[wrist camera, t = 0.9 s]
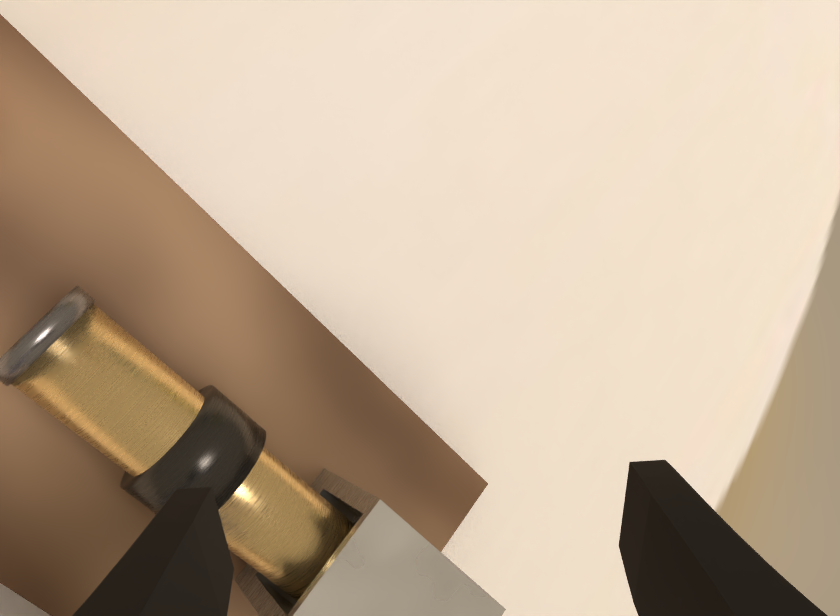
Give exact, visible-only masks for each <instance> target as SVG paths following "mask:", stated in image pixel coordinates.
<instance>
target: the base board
mask: <svg viewBox="0 0 840 616" xmlns="http://www.w3.org/2000/svg"><path fill="white" fill-rule="evenodd" d="M77 285H78V286H79V287H81V288H82V289H83V290H84V291H85V292H86V293H88V294H89V295H90V296H91V297H92V298H94V299H95V300H96V301H95V302H94V303H93V304H95V305H96V306H97V307H98V308H99V309H101V310H102V311H103V312H104V313H105V314H106V315H108V316H109V317H110V318H111V319H112V320H114V321H115V322H116V323H117V324H118V325H120V326H121V327H122V328H123V329H124V330H125V331H127V332H128V333H129V334H130V335H131V336H133V337H134V338H135V339H136V340H137V341H138V342H140V343H141V344H142V345H143V346H144V347H146V348H147V349H148V350H149V351H150V352H152V353H153V354H154V355H155V356H156V357H157V358H159V359H160V360H161V361H162V362H163V363H165V364H166V365H167V366H168V367H169V368H170V369H172V370H173V371H174V372H175V373H176V374H178V375H179V376H180V377H181V378H182V379H184V380H185V381H186V382H187V383H188V384H189V385H191V386H192V387H193V388H194V389H195V390H197V391H199V390H200V389H202V388H204V387H206V386H208V385H213V386H214V387H215V388H217V389H218V390H219V391H220V392H221V393H222V394H224V395H225V396H226V397H227V398H228V399H229V400H231V401H232V402H233V403H234V404H235V405H236V406H238V407H239V408H240V409H241V410H242V411H243V412H245V413H246V414H247V415H248V416H249V417H250V418H252V419H253V420H254V421H255V422H256V423H257V424H259V425H260V426H261V427H262V428H263V429H264V430H265V431H266V441H265V445H264V448H265V449H266V450H268V451H269V452H270V453H271V454H272V455H274V456H275V457H276V458H277V459H278V460H279V461H281V462H282V463H283V464H284V465H285V466H287V467H288V468H289V469H290V470H291V471H293V472H294V473H295V474H296V475H297V476H298V477H300V478H301V479H302V480H303V481H304V482H306V483H307V484H308V485H309V486H310V484H311V483H312V482H313V481H314V479H315V478H316V477H317V476H318V474H319V473H320V472H321V471H322V469H323V468H325V469H327V470H328V471H330V472H332V473H334V474H336V475H337V476H339V477H341V478H343V479H345V480H346V481H348V482H350V483H352V484H354V485H355V486H357V487H359V488H361V489H363V490H364V491H366V492H368V493H370V494H372V495H374V496H375V497H377V498H379V499H381V500H382V501H383V502H384V503H385V504H386V505H387V506H389V507H390V508H391V509H392V510H393V511H394V512H395V513H397V514H398V515H399V516H400V517H401V518H402V519H403V520H404V521H406V522H407V523H408V524H409V525H410V526H411V527H412V528H414V529H415V530H416V531H417V532H418V533H419V534H420V535H422V536H423V537H424V538H425V539H426V540H427V541H428V542H430V543H431V544H432V545H433V546H434V547H435V548H436V549H438V550H439V551H440V552H441V551H442V550H443V548H444V547H445V545H446V544H447V542H448V541H449V539H450V538H451V537H452V535H453V534H454V532H455V531H456V529H457V528H458V526H459V525H460V524H461V522H462V521H463V519H464V518H465V516H466V515H467V513H468V512H469V511H470V509H471V508H472V506H473V505H474V503H475V502H476V501H477V499H478V498H479V496H480V495H481V493H482V492H483V490H484V489H485V488H486V486H487V485H488V483H487V482H486V481H485V480H484V479H483V478H482V477H481V476H479V475H478V474H477V473H476V472H475V471H474V470H473V469H472V468H471V467H470V466H469V465H468V464H467V463H466V462H465V461H464V460H463V459H462V458H461V457H460V456H459V455H458V454H457V453H456V452H455V451H454V450H452V449H451V448H450V447H449V446H448V445H447V444H446V443H445V442H444V441H443V440H442V439H441V438H440V437H439V436H438V435H437V434H436V433H435V432H434V431H433V430H432V429H431V428H430V427H429V426H428V425H427V424H425V423H424V422H423V421H422V420H421V419H420V418H419V417H418V416H417V415H416V414H415V413H414V412H413V411H412V410H411V409H410V408H409V407H408V406H407V405H406V404H405V403H404V402H403V401H402V400H401V399H399V398H398V397H397V396H396V395H395V394H394V393H393V392H392V391H391V390H390V389H389V388H388V387H387V386H386V385H385V384H384V383H383V382H382V381H381V380H380V379H379V378H378V377H377V376H376V375H375V374H374V373H372V372H371V371H370V370H369V369H368V368H367V367H366V366H365V365H364V364H363V363H362V362H361V361H360V360H359V359H358V358H357V357H356V356H355V355H354V354H353V353H352V352H351V351H350V350H349V349H348V348H347V347H345V346H344V345H343V344H342V343H341V342H340V341H339V340H338V339H337V338H336V337H335V336H334V335H333V334H332V333H331V332H330V331H329V330H328V329H327V328H326V327H325V326H324V325H323V324H322V323H321V322H319V321H318V320H317V319H316V318H315V317H314V316H313V315H312V314H311V313H310V312H309V311H308V310H307V309H306V308H305V307H304V306H303V305H302V304H301V303H300V302H299V301H298V300H297V299H296V298H295V297H294V296H292V295H291V294H290V293H289V292H288V291H287V290H286V289H285V288H284V287H283V286H282V285H281V284H280V283H279V282H278V281H277V280H276V279H275V278H274V277H273V276H272V275H271V274H270V273H269V272H268V271H267V270H265V269H264V268H263V267H262V266H261V265H260V264H259V263H258V262H257V261H256V260H255V259H254V258H253V257H252V256H251V255H250V254H249V253H248V252H247V251H246V250H245V249H244V248H243V247H242V246H241V245H239V244H238V243H237V242H236V241H235V240H234V239H233V238H232V237H231V236H230V235H229V234H228V233H227V232H226V231H225V230H224V229H223V228H222V227H221V226H220V225H219V224H218V223H217V222H216V221H215V220H214V219H212V218H211V217H210V216H209V215H208V214H207V213H206V212H205V211H204V210H203V209H202V208H201V207H200V206H199V205H198V204H197V203H196V202H195V201H194V200H193V199H192V198H191V197H190V196H189V195H188V194H187V193H185V192H184V191H183V190H182V189H181V188H180V187H179V186H178V185H177V184H176V183H175V182H174V181H173V180H172V179H171V178H170V177H169V176H168V175H167V174H166V173H165V172H164V171H163V170H162V169H161V168H160V167H158V166H157V165H156V164H155V163H154V162H153V161H152V160H151V159H150V158H149V157H148V156H147V155H146V154H145V153H144V152H143V151H142V150H141V149H140V148H139V147H138V146H137V145H136V144H135V143H134V142H132V141H131V140H130V139H129V138H128V137H127V136H126V135H125V134H124V133H123V132H122V131H121V130H120V129H119V128H118V127H117V126H116V125H115V124H114V123H113V122H112V121H111V120H110V119H109V118H108V117H107V116H105V115H104V114H103V113H102V112H101V111H100V110H99V109H98V108H97V107H96V106H95V105H94V104H93V103H92V102H91V101H90V100H89V99H88V98H87V97H86V96H85V95H84V94H83V93H82V92H81V91H80V90H78V89H77V88H76V87H75V86H74V85H73V84H72V83H71V82H70V81H69V80H68V79H67V78H66V77H65V76H64V75H63V74H62V73H61V72H60V71H59V70H58V69H57V68H56V67H55V66H54V65H52V64H51V63H50V62H49V61H48V60H47V59H46V58H45V57H44V56H43V55H42V54H41V53H40V52H39V51H38V50H37V49H36V48H35V47H34V46H33V45H32V44H31V43H30V42H29V41H28V40H27V39H25V38H24V37H23V36H22V35H21V34H20V33H19V32H18V31H17V30H16V29H15V28H14V27H13V26H12V25H11V24H10V23H9V22H8V21H7V20H6V19H5V18H4V17H3V16H2V15H1V14H0V357H1V356H2V355H4V354H5V353H6V352H7V351H8V350H9V349H10V348H11V347H12V346H13V345H14V344H15V343H16V342H17V341H18V340H19V339H20V338H21V337H22V336H23V335H24V334H25V333H26V332H28V331H29V330H30V329H31V328H32V327H33V326H34V325H35V324H36V323H37V322H38V321H39V320H40V319H41V318H42V317H43V316H44V315H45V314H47V313H48V312H49V311H50V310H51V309H52V308H53V307H54V306H55V305H56V304H57V303H58V302H59V301H60V300H61V299H63V298H64V297H65V296H66V295H67V294H68V293H69V292H70V291H71V290H72V289H73V288H74V287H76V286H77ZM124 473H125V470H124V469H122V468H121V467H120V466H118V465H117V464H116V463H114V462H113V461H112V460H110V459H109V458H108V457H106V456H105V455H104V454H103V453H101V452H100V451H99V450H97V449H96V448H95V447H93V446H92V445H91V444H89V443H88V442H87V441H85V440H84V439H83V438H81V437H80V436H79V435H77V434H76V433H75V432H74V431H72V430H71V429H70V428H68V427H67V426H66V425H64V424H63V423H62V422H60V421H59V420H58V419H56V418H55V417H54V416H52V415H51V414H50V413H48V412H47V411H46V410H45V409H43V408H42V407H41V406H39V405H38V404H37V403H35V402H34V401H33V400H31V399H30V398H29V397H27V396H26V395H25V394H23V393H22V392H21V391H19V390H18V389H17V388H16V387H14V386H13V385H12V384H10V385H9V386H6V385H4V384H3V383H2V382H0V583H1V584H3V585H5V586H6V587H8V588H9V589H11V590H12V591H14V592H15V593H17V594H19V595H20V596H22V597H23V598H25V599H26V600H28V601H29V602H31V603H33V604H34V605H36V606H37V607H39V608H40V609H42V610H43V611H45V612H47V613H48V614H50V615H51V616H72V615H73V614H74V613H75V612H76V611H77V609H78V608H79V607H80V606H81V605H82V604H83V603H84V602H85V600H86V599H87V598H88V597H89V596H90V595H91V594H92V592H93V591H94V590H95V589H96V588H97V586H98V585H99V584H100V583H101V582H102V580H103V579H104V578H105V577H106V576H107V574H108V573H109V572H110V571H111V570H112V568H113V567H114V566H115V565H116V564H117V563H118V561H119V560H120V559H121V558H122V557H123V555H124V554H125V553H126V552H127V550H128V549H129V548H130V547H131V545H132V544H133V543H134V542H135V540H136V539H137V538H138V537H139V535H140V534H141V533H142V532H143V530H144V529H145V528H146V526H147V525H148V524H149V523H150V521H151V520H152V519H153V518H154V516H155V515H156V514H155V513H154V512H153V511H151V510H150V509H149V508H147V507H146V506H145V505H143V504H142V503H140V502H139V501H138V500H136V499H135V498H134V497H132V496H131V495H130V494H128V493H127V492H126V491H124V490H123V489H122V488H121V486H120V484H121V480H122V477H123V475H124ZM229 552H230V556H231V559H232V563H233V567H234V572H233V579H232V586H231V593H230V600H229V606H228V612H227V616H259V615H258V613H257V612H256V610H255V609H254V608H253V606H252V605H251V603H250V602H249V600H248V599H247V597H246V596H245V595H244V593H243V592H242V590H241V589H240V587H239V586H238V584H237V583H236V581H235V579H236V577H237V576H238V575H239V574H240V572H241V571H242V570H243V569H244V567H245V566H246V565H247V563H246V562H245V561H244V560H242V559H241V558H240V557H238V556H237V555H236V554H234V553H233V552H232V551H230V550H229Z"/></svg>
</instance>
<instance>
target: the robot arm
mask: <svg viewBox="0 0 840 616" xmlns="http://www.w3.org/2000/svg"><path fill="white" fill-rule="evenodd" d="M619 548H620V552H621V556H622V560H623V564H624V568H625V572H626V576H627V580H628V583H629V587H630V591H631V594H632V598H633V602H634V605H635V607H636V610H637V613H638V615H639V616H827V615H826V614H825V613H824V612H823V611H821V610H820V609H819V608H818V607H816V606H815V605H814V604H813V603H812V602H811V601H810V600H808V599H807V598H806V597H805V596H804V595H803V594H802V593H800V592H799V591H798V590H797V589H796V588H795V587H794V586H793V585H791V584H790V583H789V582H788V581H787V580H786V579H785V578H784V577H782V576H781V575H780V574H779V573H778V572H777V571H776V570H775V569H774V568H773V567H772V566H770V565H769V564H768V563H767V562H766V561H765V560H764V559H763V558H762V557H761V556H760V555H759V554H758V553H757V552H755V550H754V549H753V548H752V547H751V546H750V545H748V544H747V543H746V542H745V541H744V540H743V539H742V538H741V537H740V536H739V535H738V534H737V533H736V532H735V531H734V530H733V529H732V528H731V527H730V526H729V525H728V524H727V523H726V522H725V521H724V520H723V519H722V518H721V517H720V516H719V515H718V514H717V513H716V512H715V511H714V510H713V509H712V508H711V507H710V506H709V505H708V504H707V503H706V502H705V500H704V499H703V498H702V497H701V496H700V495H699V494H698V493H697V492H696V491H695V490H694V489H693V488H692V487H691V486H690V485H689V484H688V483H687V482H686V481H685V480H684V478H683V477H682V476H681V475H680V474H679V473H678V472H677V471H676V470H675V469H674V468H673V467H672V466H671V465H670V464H669V463H668V462H667V461H666V460H656V461H639V462H630V464H629V472H628V479H627V487H626V494H625V502H624V510H623V517H622V525H621V533H620V540H619ZM233 572H234V567H233V563H232V559H231V556H230V552H229V548H228V544H227V541H226V537H225V533H224V530H223V526H222V522H221V519H220V515H219V511H218V507H217V504H216V500H215V496H214V493H213V489H212V487H205V488H188V489H177V490H176V491H175V492H174V493H173V494H172V495H171V496H170V497H169V499H168V500H167V501H166V502H165V504H164V505H163V506H162V507H161V509H160V510H159V511H158V512H157V514H156V515H155V516H154V518H153V519H152V520H151V521H150V523H149V524H148V525H147V526H146V528H145V529H144V530H143V532H142V533H141V534H140V535H139V537H138V538H137V539H136V540H135V542H134V543H133V544H132V545H131V547H130V548H129V549H128V550H127V552H126V553H125V554H124V555H123V557H122V558H121V559H120V560H119V561H118V563H117V564H116V565H115V566H114V567H113V568H112V570H111V571H110V572H109V573H108V574H107V576H106V577H105V578H104V579H103V580H102V582H101V583H100V584H99V585H98V586H97V588H96V589H95V590H94V591H93V592H92V594H91V595H90V596H89V597H88V598H87V599H86V600H85V602H84V603H83V604H82V605H81V606H80V607H79V608H78V609H77V611H76V612H75V613H74V614H73V615H72V616H227V612H228V606H229V600H230V593H231V586H232V579H233Z"/></svg>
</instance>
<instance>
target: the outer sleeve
mask: <svg viewBox="0 0 840 616" xmlns="http://www.w3.org/2000/svg"><path fill="white" fill-rule="evenodd" d="M310 487H311V488H313V489H314V490H315V491H316V492H317V493H319V494H320V495H321V496H322V497H323V498H325V499H326V500H327V501H328V502H329V503H330V504H332V505H333V506H334V507H335V508H336V509H338V510H339V511H340V512H341V513H342V514H343V515H345V516H346V517H347V518H348V519H349V520H351V521H352V522H353V523H354V524H355V525H354V527H353V528H352V529H351V531H350V532H349V533H348V535H347V536H346V537H345V539H344V540H343V541H342V543H341V544H340V545H339V547H338V548H337V549H336V551H335V552H334V553H333V555H332V556H331V557H330V559H329V560H328V561H327V563H326V564H325V565H324V567H323V568H322V569H321V571H320V572H319V573H318V575H317V576H316V577H315V578H314V580H313V581H312V582H311V584H310V585H309V586H308V588H307V589H306V590H305V592H304V593H303V594H302V596H301V597H300V598H299V600H298V601H296V600H295V599H294V598H292V597H291V596H290V595H288V594H287V593H286V592H284V591H283V590H282V589H280V588H279V587H278V586H276V585H275V584H274V583H273V582H271V581H270V580H269V579H267V578H266V577H265V576H263V575H262V574H261V573H259V572H258V571H257V570H255V569H254V568H253V567H251V566H250V565H249V564H247V565H246V566H245V567H244V569H243V570H242V571H241V572H240V574H239V575H238V576H237V577H236V579H235V581H236V583H237V584H238V586H239V587H240V589H241V590H242V592H243V593H244V595H245V596H246V597H247V599H248V600H249V602H250V603H251V605H252V606H253V608H254V609H255V610H256V612H257V613H258V615H259V616H502V614H503V613H504V611H505V610H506V609H505V608H504V607H503V606H501V605H500V604H499V603H498V602H497V601H496V600H495V599H493V598H492V597H491V596H490V595H489V594H488V593H487V592H485V591H484V590H483V589H482V588H481V587H480V586H479V585H477V584H476V583H475V582H474V581H473V580H472V579H471V578H469V577H468V576H467V575H466V574H465V573H464V572H463V571H461V570H460V569H459V568H458V567H457V566H456V565H455V564H454V563H452V562H451V561H450V560H449V559H448V558H447V557H446V556H444V555H443V554H442V553H441V552H440V551H439V550H438V549H436V548H435V547H434V546H433V545H432V544H431V543H430V542H428V541H427V540H426V539H425V538H424V537H423V536H422V535H420V534H419V533H418V532H417V531H416V530H415V529H414V528H412V527H411V526H410V525H409V524H408V523H407V522H406V521H404V520H403V519H402V518H401V517H400V516H399V515H398V514H397V513H395V512H394V511H393V510H392V509H391V508H390V507H389V506H387V505H386V504H385V503H384V502H383V501H382V500H381V499H379V498H377V497H375V496H374V495H372V494H370V493H368V492H366V491H364V490H363V489H361V488H359V487H357V486H355V485H354V484H352V483H350V482H348V481H346V480H345V479H343V478H341V477H339V476H337V475H336V474H334V473H332V472H330V471H328V470H327V469H325V468H323V469H322V471H321V472H320V473H319V474H318V476H317V477H316V478H315V479H314V481H313V482H312V483H311V484H310Z"/></svg>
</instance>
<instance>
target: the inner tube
mask: <svg viewBox="0 0 840 616" xmlns="http://www.w3.org/2000/svg"><path fill="white" fill-rule="evenodd" d="M95 301H96V300H95V299H94V298H92V297H91V296H90V295H89V294H88V293H86V292H85V291H84V290H83V289H82V288H81V287H79V286H78V285H77V286H76V287H74V288H73V289H72V290H71V291H70V292H69V293H68V294H67V295H66V296H65V297H64V298H63V299H61V300H60V301H59V302H58V303H57V304H56V305H55V306H54V307H53V308H52V309H51V310H50V311H49V312H48V313H47V314H45V315H44V316H43V317H42V318H41V319H40V320H39V321H38V322H37V323H36V324H35V325H34V326H33V327H32V328H31V329H30V330H29V331H28V332H26V333H25V334H24V335H23V336H22V337H21V338H20V339H19V340H18V341H17V342H16V343H15V344H14V345H13V346H12V347H11V348H10V349H9V350H8V351H7V352H6V353H5V354H4V355H2V356H1V357H0V382H2V383H3V384H4V385H6V386H9V385H10V384H12V385H13V386H14V387H16V388H17V389H18V390H19V391H21V392H22V393H23V394H25V395H26V396H27V397H29V398H30V399H31V400H33V401H34V402H35V403H37V404H38V405H39V406H41V407H42V408H43V409H45V410H46V411H47V412H48V413H50V414H51V415H52V416H54V417H55V418H56V419H58V420H59V421H60V422H62V423H63V424H64V425H66V426H67V427H68V428H70V429H71V430H72V431H74V432H75V433H76V434H77V435H79V436H80V437H81V438H83V439H84V440H85V441H87V442H88V443H89V444H91V445H92V446H93V447H95V448H96V449H97V450H99V451H100V452H101V453H103V454H104V455H105V456H106V457H108V458H109V459H110V460H112V461H113V462H114V463H116V464H117V465H118V466H120V467H121V468H122V469H124V470H125V473H124V475H123V477H122V480H121V484H120V486H121V488H122V489H123V490H124V491H126V492H127V493H128V494H130V495H131V496H132V497H134V498H135V499H136V500H138V501H139V502H140V503H142V504H143V505H145V506H146V507H147V508H149V509H150V510H151V511H153V512H154V513H155V514H157V512H158V511H159V510H160V509H161V507H162V506H163V505H164V504H165V502H166V501H167V500H168V499H169V497H170V496H171V495H172V494H173V493H174V492H175V491H176V490H177V489H188V488H205V487H212V489H213V493H214V496H215V500H216V504H217V507H218V511H219V515H220V519H221V522H222V526H223V530H224V533H225V537H226V541H227V544H228V548H229V550H230V551H232V552H233V553H234V554H236V555H237V556H238V557H240V558H241V559H242V560H244V561H245V562H246V563H247V564H249V565H250V566H251V567H253V568H254V569H255V570H257V571H258V572H259V573H261V574H262V575H263V576H265V577H266V578H267V579H269V580H270V581H271V582H273V583H274V584H275V585H276V586H278V587H279V588H280V589H282V590H283V591H284V592H286V593H287V594H288V595H290V596H291V597H292V598H294V599H295V600H296V601H298V600H299V598H300V597H301V596H302V594H303V593H304V592H305V590H306V589H307V588H308V586H309V585H310V584H311V582H312V581H313V580H314V578H315V577H316V576H317V575H318V573H319V572H320V571H321V569H322V568H323V567H324V565H325V564H326V563H327V561H328V560H329V559H330V557H331V556H332V555H333V553H334V552H335V551H336V549H337V548H338V547H339V545H340V544H341V543H342V541H343V540H344V539H345V537H346V536H347V535H348V533H349V532H350V531H351V529H352V528H353V527H354V525H355V524H354V523H353V522H352V521H351V520H349V519H348V518H347V517H346V516H345V515H343V514H342V513H341V512H340V511H339V510H338V509H336V508H335V507H334V506H333V505H332V504H330V503H329V502H328V501H327V500H326V499H325V498H323V497H322V496H321V495H320V494H319V493H317V492H316V491H315V490H314V489H313V488H311V487H310V486H309V485H308V484H307V483H306V482H304V481H303V480H302V479H301V478H300V477H298V476H297V475H296V474H295V473H294V472H293V471H291V470H290V469H289V468H288V467H287V466H285V465H284V464H283V463H282V462H281V461H279V460H278V459H277V458H276V457H275V456H274V455H272V454H271V453H270V452H269V451H268V450H266V449H265V448H264V445H265V441H266V431H265V430H264V429H263V428H262V427H261V426H260V425H259V424H257V423H256V422H255V421H254V420H253V419H252V418H250V417H249V416H248V415H247V414H246V413H245V412H243V411H242V410H241V409H240V408H239V407H238V406H236V405H235V404H234V403H233V402H232V401H231V400H229V399H228V398H227V397H226V396H225V395H224V394H222V393H221V392H220V391H219V390H218V389H217V388H215V387H214V386H213V385H208V386H206V387H204V388H202V389H200V390H199V391H197V390H195V389H194V388H193V387H192V386H191V385H189V384H188V383H187V382H186V381H185V380H184V379H182V378H181V377H180V376H179V375H178V374H176V373H175V372H174V371H173V370H172V369H170V368H169V367H168V366H167V365H166V364H165V363H163V362H162V361H161V360H160V359H159V358H157V357H156V356H155V355H154V354H153V353H152V352H150V351H149V350H148V349H147V348H146V347H144V346H143V345H142V344H141V343H140V342H138V341H137V340H136V339H135V338H134V337H133V336H131V335H130V334H129V333H128V332H127V331H125V330H124V329H123V328H122V327H121V326H120V325H118V324H117V323H116V322H115V321H114V320H112V319H111V318H110V317H109V316H108V315H106V314H105V313H104V312H103V311H102V310H101V309H99V308H98V307H97V306H96V305H95V304H93V303H94V302H95Z"/></svg>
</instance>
